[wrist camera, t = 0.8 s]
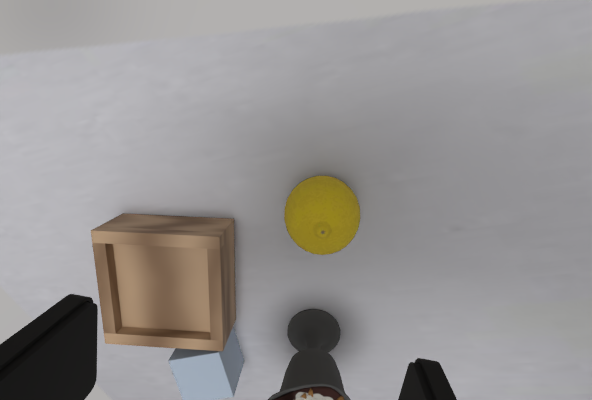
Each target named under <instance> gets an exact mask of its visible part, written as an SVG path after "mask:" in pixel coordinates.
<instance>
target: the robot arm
mask: <svg viewBox="0 0 592 400" xmlns="http://www.w3.org/2000/svg"><path fill="white" fill-rule="evenodd" d="M96 374H97V305H96V304H95V303H93V300H92V298H90V297H85V296H80V295H74V294H70V295H68V296H66V297H65V298H63V299H62V300H61V301H59V302H58V303H56V304H55V305H54V306H52V307H51V308H50V309H48V310H47V311H46V312H44V313H43V314H41V315H40V316H39V317H37V318H36V319H35V320H33V321H32V322H31V323H29V324H28V325H27V326H25V327H24V328H22V329H21V330H20V331H18V332H17V333H15V334H14V335H13V336H11V337H10V338H9V339H7V340H6V341H5V342H3V343H2V344H0V400H84V399H85V398H86V397H87V396H88V394H89V393H90V392H91V390H92V389H93V387H94V385H95V382H96ZM398 400H457V399H456V397H455V395H454V393H453V391H452V388H451V386H450V384H449V382H448V380H447V378H446V376H445V374H444V371H443V369H442V367H441V365H440V364H439V362H436V361H431V360H426V359H420V358H418V359H417V360H416V361H415V363H413V362H411V363H410V364H409V366H408V369H407V372H406V376H405V379H404V382H403V386H402V389H401V393H400V396H399V399H398Z"/></svg>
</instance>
